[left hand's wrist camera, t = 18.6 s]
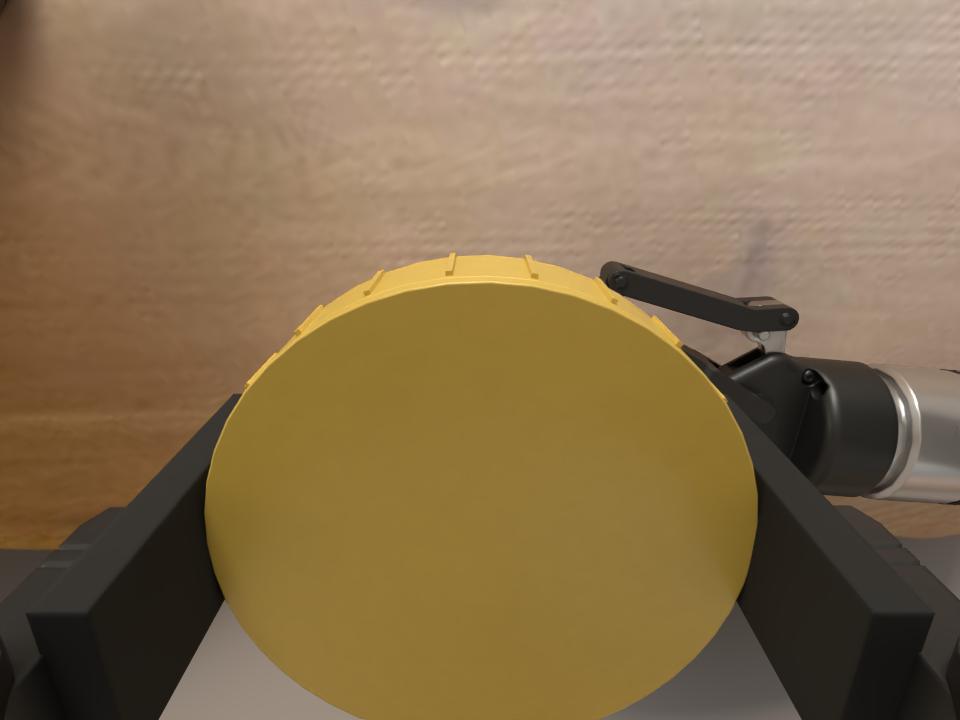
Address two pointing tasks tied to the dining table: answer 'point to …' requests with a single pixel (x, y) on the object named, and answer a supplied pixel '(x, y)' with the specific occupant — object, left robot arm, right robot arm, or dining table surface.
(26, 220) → the dining table surface
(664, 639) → the lid
